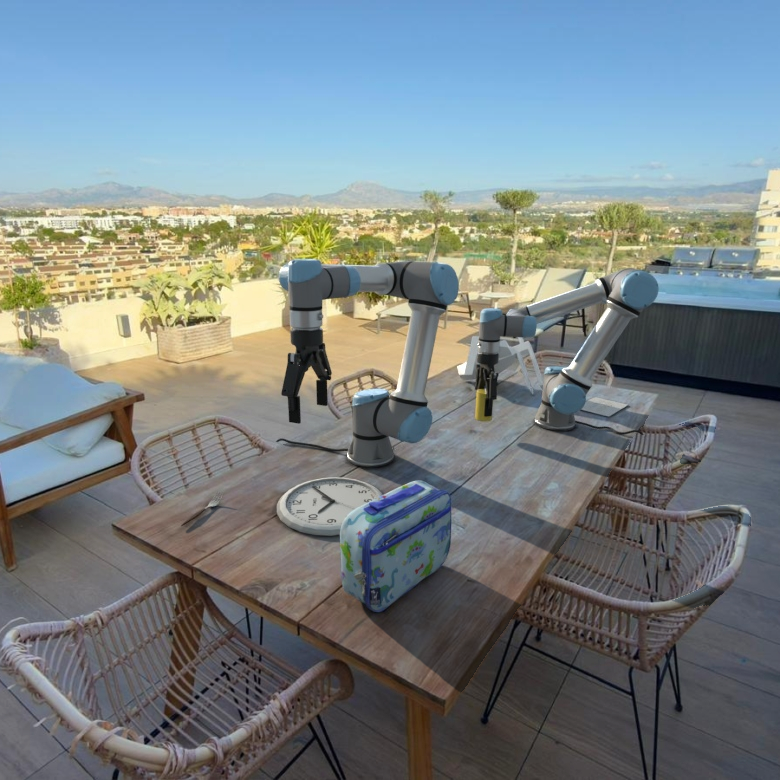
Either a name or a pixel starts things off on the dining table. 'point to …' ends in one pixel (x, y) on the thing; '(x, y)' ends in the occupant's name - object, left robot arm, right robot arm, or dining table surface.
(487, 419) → the can
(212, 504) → the fork
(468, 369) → the white plastic object
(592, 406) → the invitation card
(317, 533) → the wall clock
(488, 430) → the dining table surface
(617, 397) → the dining table surface
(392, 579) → the lunch box
